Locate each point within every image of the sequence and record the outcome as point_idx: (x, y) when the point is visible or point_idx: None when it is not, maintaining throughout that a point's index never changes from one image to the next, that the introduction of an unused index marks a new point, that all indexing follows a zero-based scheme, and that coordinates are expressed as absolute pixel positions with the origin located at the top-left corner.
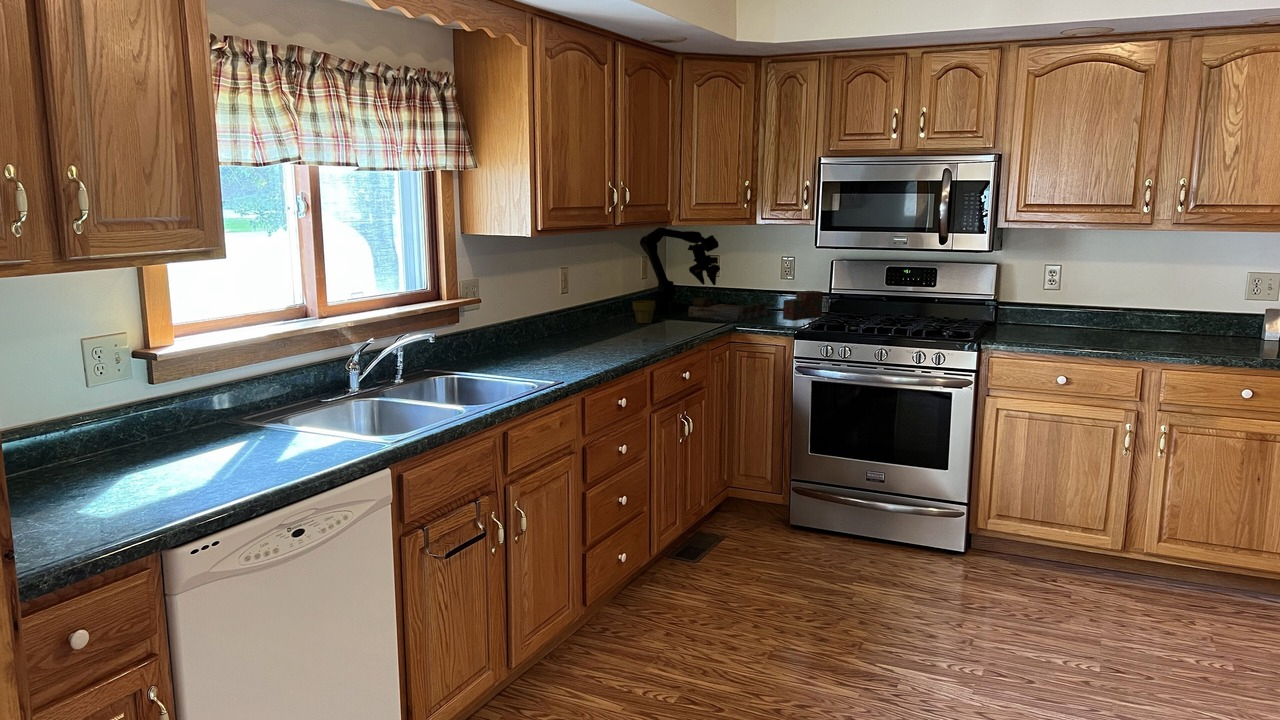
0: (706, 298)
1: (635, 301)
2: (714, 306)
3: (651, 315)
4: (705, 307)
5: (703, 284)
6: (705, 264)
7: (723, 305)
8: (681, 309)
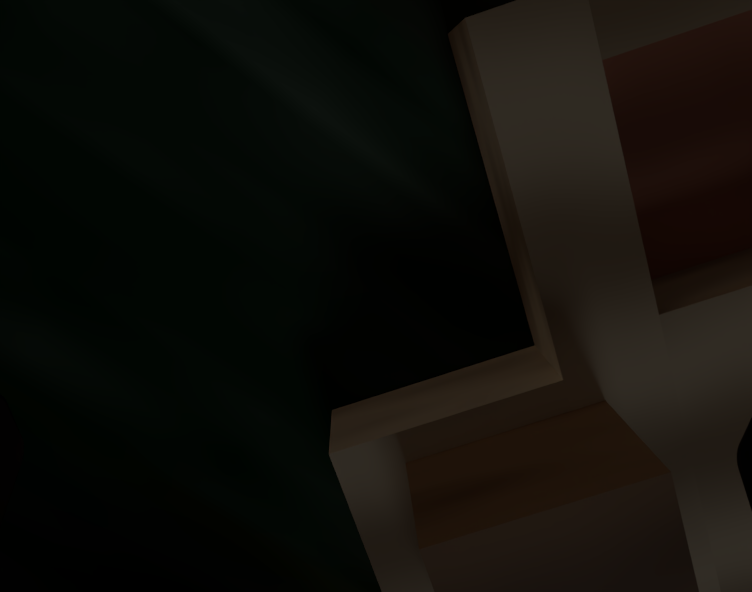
0: (622, 543)
1: None
2: (643, 342)
3: None
4: None
5: (22, 439)
6: None
7: (604, 86)
8: (61, 515)
